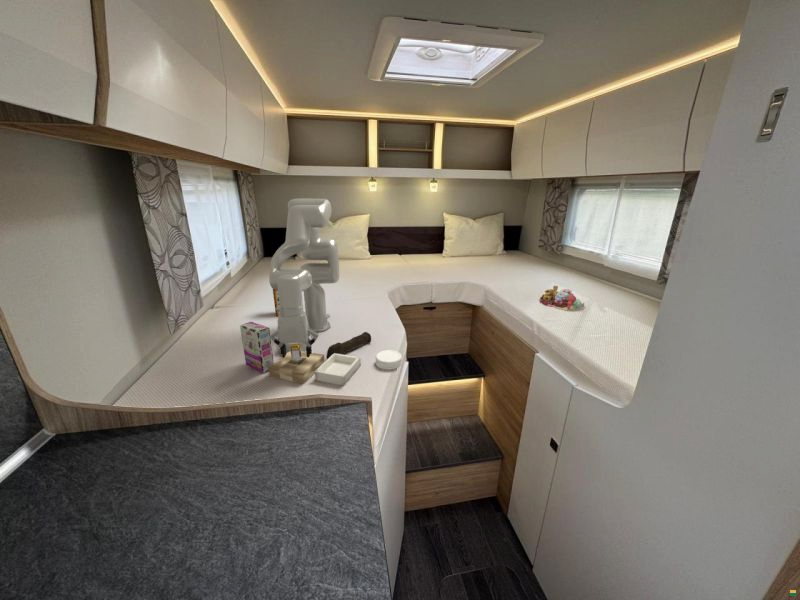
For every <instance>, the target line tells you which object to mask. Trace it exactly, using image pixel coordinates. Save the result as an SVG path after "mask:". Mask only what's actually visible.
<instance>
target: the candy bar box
mask: <svg viewBox="0 0 800 600" xmlns="http://www.w3.org/2000/svg"><path fill="white" fill-rule="evenodd" d="M239 328H240V334H241V340H242V341H241V343H242V347H243V355H244V360H245V365H246V366H247V367H250V368H251V369H253V370H256V371H258V372H260V373H262V374H265V373H267V372H269V369H268V367H269V366H270V365H272V364H273V363H274V362H275V361H274V356H273V348H272V347H273V345H272V339H271V338H270V336H271V331H270V327H268V326H265V325H262V324H259V323H257V322H254V321H249V322H246V323H243V324H240V325H239Z"/></svg>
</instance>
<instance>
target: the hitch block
mask: <svg viewBox="0 0 800 600" xmlns="http://www.w3.org/2000/svg"><path fill="white" fill-rule="evenodd" d="M302 361H303V362H302V363H301V364H300V365H297V364H292V357H291V351H289V352H288V351H287V354H286V356H285V357H284V358H282V356H281V357H280V358H278V359H277V360H275V361H273V362H274V363H273V364H272V365H270V366H269V367H268V369H269V371H268V375H269V376H268V377H269V378H274V379H279V380H283V381H288V382H289V381H290V382H294V383H299V384H306V383H307V382H308V381H309V380H310V379H311V378H312V377H313V376H315V371H316V370H317V369H318V368H319V367H320V366H321V365H322V364H323V363H324V362H325V361H326V360H325V354H321V353H315V352H312V353H311V354H310V356H309V357H307V354H306V351H302Z"/></svg>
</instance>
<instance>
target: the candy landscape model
mask: <svg viewBox="0 0 800 600" xmlns="http://www.w3.org/2000/svg"><path fill="white" fill-rule="evenodd" d="M552 286H553V287H552V288H553V289H552V288H550V289H546V290H544V294H542V295H541V297H539V298H540V299H538V300H539V303H542V305H545V306H548V307H550V308H555V309H557V310H559V311H560V310H561V311H564V312H579V311H582V310H584V309H586V306H585V302H582V301H581V300H580V299H579V298H577V297H576V296H575V294H574V293H572V290H571V289H570V288H565V289H564V288H563V289H560V291H558V289H559V285H552Z"/></svg>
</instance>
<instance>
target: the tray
mask: <svg viewBox="0 0 800 600" xmlns="http://www.w3.org/2000/svg"><path fill="white" fill-rule="evenodd" d="M361 361H362V359H361V357H359V356H354V355H353V356H352V355H347V354H343V355H342V354H336V353H334V354H333V355H332V356H330V357H329V358H328V359H327V358H326V360H325V362H324V363H323V364H322V365H321V366H320V367H319V368H318V369H317V370H316V371H315V374H314V380H315V381H317V382H321V383H322V382H323V383H328V384H332V385H338V386H345V385H347V383H348V382H349V381H350V379H351V378H352V377H353V376H354V374H355V373H356V372H357V371H358V370H359V368H360V367H361V365H362V363H361Z"/></svg>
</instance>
